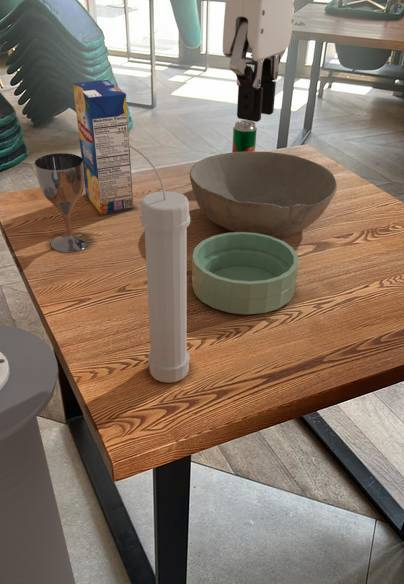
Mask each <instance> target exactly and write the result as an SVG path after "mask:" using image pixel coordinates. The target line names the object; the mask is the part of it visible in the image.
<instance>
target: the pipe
mask: <svg viewBox="0 0 404 584" xmlns="http://www.w3.org/2000/svg"><path fill="white" fill-rule="evenodd" d="M129 147H130V148H131V149H132V150H134V151H135V152H137V153H138V154H139V155H141V156H142V157H143V158H144V159H145V160H146V161H147V162H148V163H149V165H150V166H151V168H152V169H153V170H154V172H155V174H156V175H157V178H158V181H159V182H160V186H161V189H162V191H155V192H151V193H148V194H146V195H144V196H143V197H142V198H141V201H140V212H141V213H140V218H139V219H140V225H141V226H142V227H143V228H144V244H145V245H144V246H145V247H144V248H145V266H146V285H147V306H148V323H149V325H148V326H149V342H150V343H149V344H150V345H149V346H150V347H149V348H150V351H149V353H148V355H147V362H148V365H149V373H150V375H151V376H152V378H154V380H156V381H158V382H160V383H167V384H170V383H177V382H179V381H182V380H183V379H184V378H186V376H187V375H188V373H189V368H190V365H189V364H190V361H191V355H190V353H189V351H188V349H187V348H188V347H187V346H188V344H187V343H188V341H187V338H188V335H187V334H188V333H187V331H188V329H187V322H188V320H187V317H188V316H187V313H188V312H187V311H188V310H187V309H188V305H187V304H188V303H187V301H188V300H187V299H188V298H187V296H188V295H187V293H188V290H187V289H188V288H187V287H188V284H187V283H188V280H187V279H188V278H187V277H188V276H187V275H188V274H187V268H188V267H187V266H188V265H187V260H188V259H187V258H188V257H187V255H188V254H187V252H188V251H187V250H188V249H187V248H188V246H187V245H188V244H187V243H188V240H187V239H188V238H187V237H188V235H187V228H188V227H189V226H190V224H191V215H190V202H189V200H188V197H187V196H186V195H185V194H183V193H181V192H176V191H170V190H169V191H168V190H165V186H164V184H163V180H162V177H161V175H160V173H159V171H158V170H157V168H156V166H155V165H154V164H153V162H152V161H151V160H150V158H148V156H146V155H145V154H144V153H143V152H142V151H140V150H139V149H137V148H136V147H134V146H133V145H131V144H129Z"/></svg>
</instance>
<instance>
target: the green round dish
mask: <svg viewBox="0 0 404 584" xmlns="http://www.w3.org/2000/svg"><path fill="white" fill-rule="evenodd" d="M192 251H193V252H192V254H191V287H192V290H193V292H194V293H193V294H194V295H195V296H196V297H197V298H198V299H199V300H200V301H201V302H202V303H204V304H206V305H207V306H209V307H211V308H213V309H215V310H218V311H222V312H225V313H226V312H227V313H230V314H238V315H256V314H257V315H258V314H265V313H269V312H272V311H275V310H279V309H280V308H282V307H283V306H285V305H287V304H289V302H290V301H291V300H292V298H293V297H294V295H295V291H296V284H297V277H298V271H299V255H298V253H297V252H296V250H295V249H294V248H293V247H292V246H291V245H289V244H288V243H287V242H286V241H284V240H282V239H280V238H278V237H272V236H268V235H263V234H259V233H250V232H233V231H231V232H224V233H220V234H216V235H212V236H210V237H208V238H205V239H203V240H201V241H200V242H199V243H198V244H197V245H196V246H195V247H194V248H193V250H192Z"/></svg>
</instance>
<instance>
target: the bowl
mask: <svg viewBox="0 0 404 584" xmlns="http://www.w3.org/2000/svg"><path fill="white" fill-rule="evenodd" d="M189 181H190V185H191V189H192V192H193V195H194V198H195V200H196V203H197V206H198V207H199V209H200V210H201V212H202V213H203V215H204V216H205V217H206V218H207V219H208V220H210V222H213V223H214V224H215V225H217V226H219V227H221V228H224V229H225V230H228V231H231V232H250V233H259V234H263V235H268V236H272V237H274V238H283V237H287V236H291V235H295V234H298V233H300V232H302V231H304V230H305V229H307V228H308V227H310V226H311V225H313V224H314V223H315V222H316V221H317V220H318V219H319V218H320V217H321V216H322V215H323V213H324V212H325V211H326V210H327V208H328V206H329V205H330V204H331V202H332V200H333V199H334V196H335V195H336V193H337V190H338V183H337V179H336V177H335V176H334V174H333V173H332V172H331V170H329V168H326V167H324V166H323V165H321V164H319V163H317V162H314V161H312V160H310V159H306V158H304V157H300V156H297V155H293V154H288V153H282V152H273V151H256V150H255V151H249V152H233V153H232V152H226V153H219V154H215V155H211V156H210V155H209V156H208V157H205V158H202V159H200V160H198V161H197V162H195V163H194V164H193V165H192V166H191V168H190V171H189Z"/></svg>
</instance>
